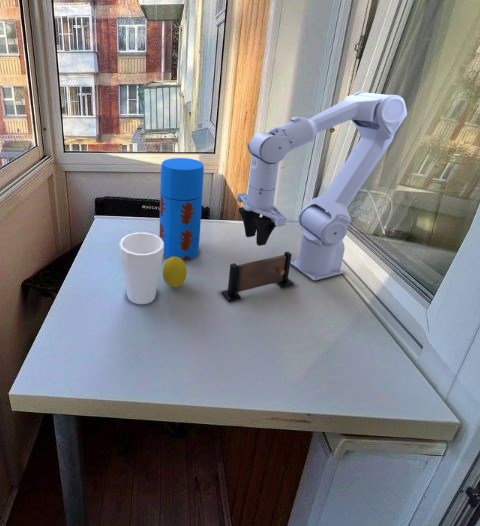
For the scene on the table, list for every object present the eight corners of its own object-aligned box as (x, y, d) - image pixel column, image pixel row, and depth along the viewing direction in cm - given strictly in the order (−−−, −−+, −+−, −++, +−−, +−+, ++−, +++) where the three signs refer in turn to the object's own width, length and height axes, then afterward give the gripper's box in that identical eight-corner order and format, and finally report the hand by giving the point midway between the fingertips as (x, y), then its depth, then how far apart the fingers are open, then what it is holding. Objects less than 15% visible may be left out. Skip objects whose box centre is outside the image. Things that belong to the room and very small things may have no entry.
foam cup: (168, 288, 76) (170, 237, 72) (153, 314, 68) (154, 259, 64) (131, 277, 80) (130, 229, 76) (112, 301, 72) (111, 248, 68)
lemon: (185, 296, 73) (186, 265, 71) (160, 293, 74) (161, 262, 72) (186, 281, 79) (188, 251, 76) (163, 278, 80) (164, 249, 77)
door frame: (284, 277, 80) (288, 248, 77) (293, 285, 77) (298, 255, 75) (221, 293, 74) (224, 262, 72) (229, 302, 72) (232, 270, 69)
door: (279, 278, 78) (283, 254, 76) (285, 283, 76) (289, 258, 74) (233, 290, 74) (236, 265, 72) (238, 295, 72) (241, 269, 70)
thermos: (166, 263, 85) (169, 171, 78) (154, 242, 95) (155, 159, 88) (205, 258, 88) (211, 168, 80) (189, 238, 98) (194, 156, 90)
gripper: (228, 178, 80) (223, 228, 84) (269, 200, 66) (262, 259, 70) (252, 175, 82) (247, 224, 86) (297, 196, 69) (288, 253, 73)
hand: (255, 240), depth 78 cm, fingers open, 3 cm apart
